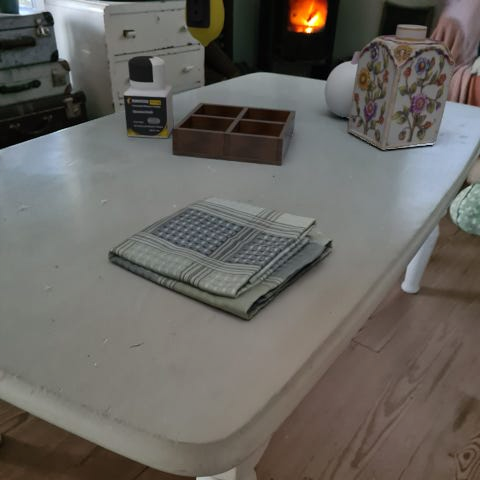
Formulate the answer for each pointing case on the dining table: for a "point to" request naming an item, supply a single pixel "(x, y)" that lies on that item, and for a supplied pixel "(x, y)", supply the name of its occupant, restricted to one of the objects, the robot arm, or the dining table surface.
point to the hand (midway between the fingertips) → (204, 23)
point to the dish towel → (224, 253)
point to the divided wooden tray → (234, 133)
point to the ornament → (341, 87)
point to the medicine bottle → (148, 99)
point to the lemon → (215, 24)
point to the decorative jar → (401, 89)
